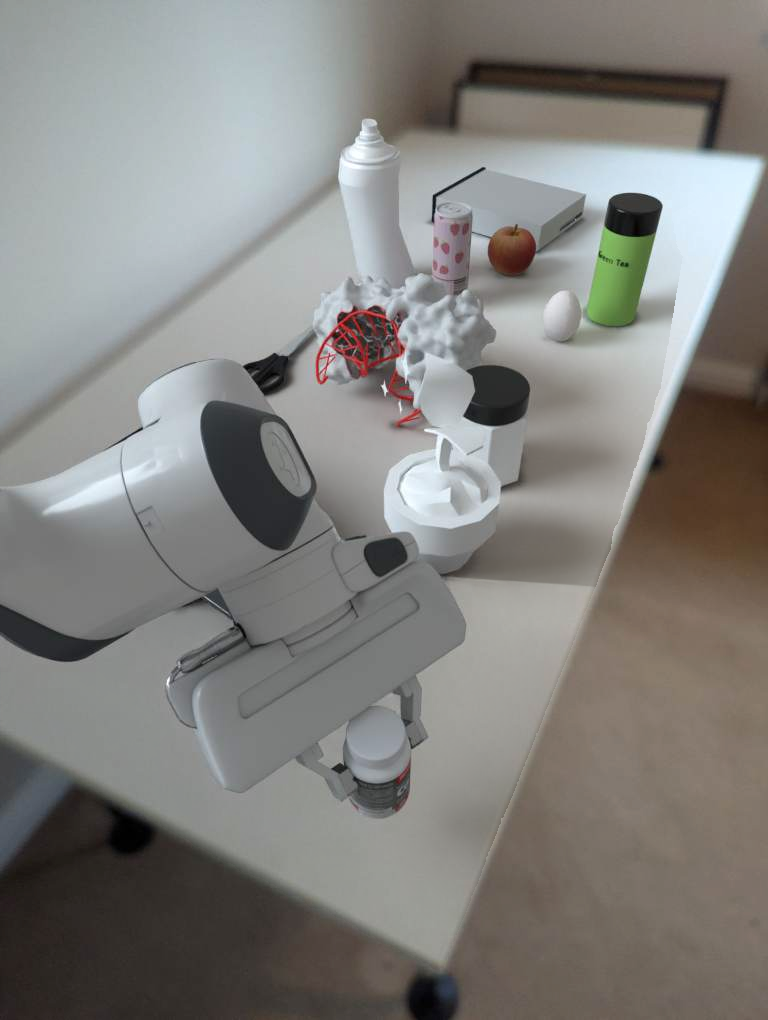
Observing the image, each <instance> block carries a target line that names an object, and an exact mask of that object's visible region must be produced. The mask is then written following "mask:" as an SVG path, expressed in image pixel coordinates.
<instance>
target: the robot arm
mask: <svg viewBox="0 0 768 1020" xmlns="http://www.w3.org/2000/svg"><path fill="white" fill-rule="evenodd" d="M243 366H244V365H242V364H241V363H239V362H237V361H235V360H232V359H227V358H210V359H204V360H199V361H193V362H190V363H186V364H184V365H181V366H179V367H176V368H174V369H171V370H170V371H168V372H166V373H164V374H162V375H161V376H160V377H158V378H157V379H155V380H154V381H152V382H151V383H150V384H148V386H146V388H145V389H144V390H143V391H142V392H141V394H140V396H139V398H138V399H137V409H138V415H139V418H140V422H141V425H142V427H143V430H141V431H139V432H138V433H136V434H134V435H132V436H130V437H129V438H127V439H126V440H124V441H122V442H120V443H118V444H116V445H114V446H112V445H111V446H112V447H111V448H109V449H107V448H106V449H107V450H105V449H104V450H105V451H104V450H102V451H103V452H102V451H100V452H101V453H100V452H98V453H97V454H95V455H93V456H91V457H89V458H87V459H85V460H83V461H81V462H79V463H77V464H75V465H73V466H70V468H67V469H65V470H64V471H61V472H60V473H58V474H57V473H56V474H55V475H52V476H50V477H47V478H43V479H40V480H38V481H34V482H30V483H24V484H18V485H11V486H1V485H0V637H1V638H3V639H4V640H5V641H7V642H8V643H10V644H11V645H13V646H15V647H17V648H18V649H20V650H22V651H24V652H26V653H28V654H31V655H34V656H36V657H40V658H43V659H47V660H50V661H55V662H60V663H73V662H74V663H75V662H78V661H82V660H85V659H87V658H90V657H91V656H92V655H94V654H96V653H98V652H99V651H101V650H103V649H104V648H106V647H108V646H109V645H111V644H114V643H115V642H117V641H118V640H120V639H122V638H124V637H125V636H127V635H129V634H130V633H131V632H133V631H134V630H136V629H138V628H139V627H141V626H143V625H146V624H147V623H150V622H152V621H154V620H156V619H158V618H160V617H162V616H165V615H167V614H169V613H170V612H173V611H175V610H177V609H179V608H181V607H183V606H186V605H188V604H190V603H192V602H194V601H196V600H198V599H201V598H200V597H202V596H205V595H207V594H209V593H211V592H212V591H214V590H215V589H217V588H218V590H219V591H220V593H221V595H222V597H223V599H224V601H225V603H226V605H227V607H228V609H229V611H230V613H231V614H232V617H233V619H234V621H235V622H236V625H235V626H234V625H233V626H231V627H230V628H228V629H227V630H225V631H223V632H221V633H220V634H218V635H216V636H214V637H213V638H212V639H210V640H209V641H208V642H206V643H205V644H204V645H202V646H200V647H199V648H196V649H192V650H190V651H188V652H186V653H184V654H183V655H182V656H180V657H179V658H178V659H177V660H176V666H175V667H174V668H173V669H172V670H171V672H170V673H169V675H168V677H167V679H166V682H165V688H164V689H165V696H166V699H167V701H168V703H169V705H170V707H171V710H172V712H173V713H174V715H175V716H176V718H177V719H178V721H179V722H180V723H181V724H183V725H184V726H186V727H188V728H190V729H193V733H194V735H195V739H196V741H197V743H198V746H199V748H200V750H201V754H202V757H203V758H204V761H205V763H206V765H207V768H208V770H209V771H210V773H211V776H212V778H213V779H214V780H215V782H216V783H217V784H218V785H219V786H220V788H222V789H224V790H227V791H230V792H232V793H237V794H244V793H246V792H247V791H249V790H250V789H252V788H253V787H254V786H256V785H257V784H259V783H260V782H262V781H263V780H265V779H266V778H268V777H269V776H270V775H272V774H274V773H275V772H276V771H278V770H279V769H281V768H283V767H284V766H286V765H287V764H288V763H290V762H291V761H293V760H294V759H295V761H296V762H297V763H298V764H300V765H302V766H303V767H304V768H307V769H308V770H309V771H311V772H313V773H315V774H317V775H319V776H320V777H322V778H323V779H324V781H325V783H326V785H327V786H328V789H329V790H330V793H331V794H332V796H333V797H334V798H335V799H336V800H338V801H339V802H343V801H345V800H346V799H348V797H349V796H350V795H351V794H352V793H354V792H355V791H356V790H358V789H359V786H358V784H357V782H356V781H354V780H353V778H354V776H353V774H352V772H351V770H350V768H349V767H347V766H344V763H341V762H338V763H337V764H336V765H333V766H332V767H329V766H326V765H324V764H323V763H322V762H320V761H318V760H320V759H322V758H323V757H324V752H323V750H322V748H321V746H320V744H319V742H320V741H322V740H323V739H325V738H326V737H328V736H329V735H331V734H332V733H333V732H335V731H336V730H338V729H339V728H341V727H342V726H344V725H345V724H346V723H347V724H348V723H349V721H350V720H351V719H352V718H354V717H355V716H357V715H358V714H360V713H361V712H363V711H364V710H366V709H367V708H369V707H370V706H374V705H375V704H376V703H377V702H379V701H380V700H382V699H383V698H385V697H386V696H388V695H389V694H391V693H392V695H395V696H399V697H400V698H399V699H400V703H399V704H400V718H401V719H402V721H403V723H404V725H405V730H406V734H407V736H408V738H409V741H410V745H411V750H414V749H415V748H416V747H417V746H419V745H421V744H422V743H423V742H424V741H426V740H427V739H428V738H429V734H428V732H427V730H426V728H425V726H424V723H423V722H422V720H421V715H422V696H423V695H422V693H423V688H422V686H421V684H420V681H419V679H418V677H417V675H418V674H420V673H421V672H423V671H424V670H426V669H427V668H429V667H430V666H431V665H433V664H435V663H436V662H437V661H439V660H440V659H442V658H443V657H445V656H446V655H448V654H449V653H450V652H452V651H454V650H455V649H456V648H458V647H459V646H461V645H462V644H463V643H464V642H465V640H466V631H467V622H466V619H465V616H464V615H463V612H462V610H461V608H460V607H459V605H458V603H457V601H456V598H455V597H454V595H453V593H452V592H451V590H450V588H449V587H448V585H447V584H446V583H445V581H444V579H443V577H442V576H441V574H440V573H438V572H437V571H436V570H435V569H434V568H433V567H432V566H431V565H429V564H428V563H426V562H423V561H414V560H415V559H416V558H417V557H418V555H419V548H418V545H417V542H416V540H415V538H414V537H413V535H412V534H411V533H409V532H386V533H380V534H375V535H369V536H367V535H366V534H363V535H356V536H352V537H349V538H346V539H345V540H343V539H344V538H341V536H340V535H339V533H338V530H337V529H336V527H335V525H334V523H333V521H332V519H331V518H330V517H329V516H328V514H327V513H326V512H325V511H324V510H323V509H322V508H321V506H319V504H318V502H317V501H316V499H315V496H316V493H317V488H318V487H317V486H318V485H317V480H316V478H315V476H314V474H313V471H312V469H311V467H310V465H309V463H308V461H307V458H306V457H305V455H304V453H303V450H302V448H301V446H300V444H299V442H298V441H297V439H296V437H295V435H294V433H293V431H292V428H291V427H290V425H289V424H288V423H287V422H286V420H284V419H283V418H282V417H281V416H279V415H278V414H277V413H276V411H275V410H274V408H273V406H272V405H271V403H270V402H269V401H268V399H267V398H266V396H265V394H263V393H262V392H261V390H260V389H259V388H260V387H259V385H258V386H257V384H256V383H255V382H254V380H253V379H252V378H251V377H252V376H251V375H250V373H249V372H248V371H246V370H245V369H244V368H243ZM180 673H182V675H181V676H179V677H177V676H178V675H179V674H180ZM176 677H177V678H176Z"/></svg>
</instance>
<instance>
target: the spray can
mask: <svg viewBox="0 0 768 1020" xmlns="http://www.w3.org/2000/svg"><path fill="white" fill-rule="evenodd" d="M354 141H355V142H353V143H352V144H351V145H348V146H346V147H344V148H343V149H342V150H341V151H340V158H339V164H338V174H337V178H338V179H337V180H338V183H339V189H340V192H341V196H342V201H343V206H344V210H345V214H346V220H347V224H348V228H349V234H350V239H351V245H352V249H353V255H354V260H355V265H356V266H355V267H356V270H357V273H358V277H359V278H360V281H361V282H362V281H363V278H364V277H365V276H370V277H371V278H372V279H373V281H374V282H377V281H378V280H380V279H385V280H386V281H387V282H388V283H389V284H390V286H391V287H393V288H396V289H400V288H401V287H403V286H406V285H405V280H406V278H408V277H413V276H417V274H416V270H415V267H414V264H413V261H412V258H411V256H410V252H409V250H408V246H407V244H406V241H405V238H404V235H403V232H402V230H401V226H400V182H399V181H400V171H401V170H400V169H401V164H402V157H401V155H400V154H401V151H400V149H398V148H397V147H396V146H394V145H391V144H388V143H387V141H385V137H384V136H383V135H382V134H381V132H380V130H379V129H378V122H377V121H376V120H375V119H373V118H363V119H362V120H361V130H360V131H359V135H357V136H356V137H355V140H354Z"/></svg>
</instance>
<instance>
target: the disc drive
mask: <svg viewBox="0 0 768 1020" xmlns="http://www.w3.org/2000/svg"><path fill="white" fill-rule="evenodd" d="M586 198H587V194H586V193H583V192H579V191H575V190H571V189H568V188H563V187H559V186H555V185H550V184H547V183H544V182H543V183H542V182H538V181H535V180H530V179H526V178H522V177H518V176H515V175H510V174H506V173H503V172H498V171H494V170H490V169H486V167H485V166H482V167H479V169H477V170H475V171H472V172H471V173H470V174H467V175H465V176H463V177H462V178H461V179H459V180H457V181H455V182H453V183H451V184H449V185H448V186H446V187H445V188H443V189H441V190H439V191H438V192H436V193H434V194H432V199H431V201H432V203H431V204H432V205H431V223H434V214H435V212H436V211H435V210H436V208H437V206H438V205H440V204H442V203H445V202H462V203H465V204H467V205H469V206H470V207H471V208H472V214H473V221H472V233H475V234H479V235H483V236H486V237H488V238H492V236H493V235H494V233H495V232H496V231H497V230H499V229H501V228H503V227H507V226H509V227H515V224H518V228H523V229H526V230H528V231H529V232H530V233H531V234H532V236H533V237H534V239H535V242H536V252H539V251H540V250H541V249H543V248H544V247H545V246H546V245H548V244H550V243H551V242H552V241H553V240H555V239H556V238H557V237H559V236H560V235H562V234H563V233H564V232H565V231H567V230H569V229H570V228H571V227H572V226H574V225H575V224H576V223H577V222H579V221H580V220H582V219H583V214H584V209H585V204H586ZM575 219H576V220H575Z"/></svg>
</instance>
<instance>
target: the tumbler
mask: <svg viewBox="0 0 768 1020" xmlns="http://www.w3.org/2000/svg"><path fill="white" fill-rule="evenodd" d="M663 207H664V205H663V202H662V201H661V200H660V199H658V198H657V197H655V196H653V195H649V194H646V193H640V192H622V193H617V194H615V195H612V196H611V197H610V198H609V199H608V202H607V207H606V213H605V217H604V221H603V227H602V233H601V237H600V243H599V247H598V252H597V257H596V261H595V262H596V263H595V267H594V272H593V278H592V282H591V287H590V291H589V298H588V301H587V306H586V316H587V317H588V319H590V320H591V321H593V322H594V323H596V324H598V325H602V326H604V327H605V326H606V327H613V328H614V327H616V328H617V327H624V326H627V325H629V324H631V323H632V322H633V321H634V320H635V318H636V314H637V310H638V307H639V302H640V298H641V295H642V290H643V287H644V282H645V278H646V274H647V270H648V267H649V263H650V260H651V254H652V250H653V247H654V244H655V240H656V235H657V231H658V227H659V223H660V220H661V217H662V212H663Z"/></svg>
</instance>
